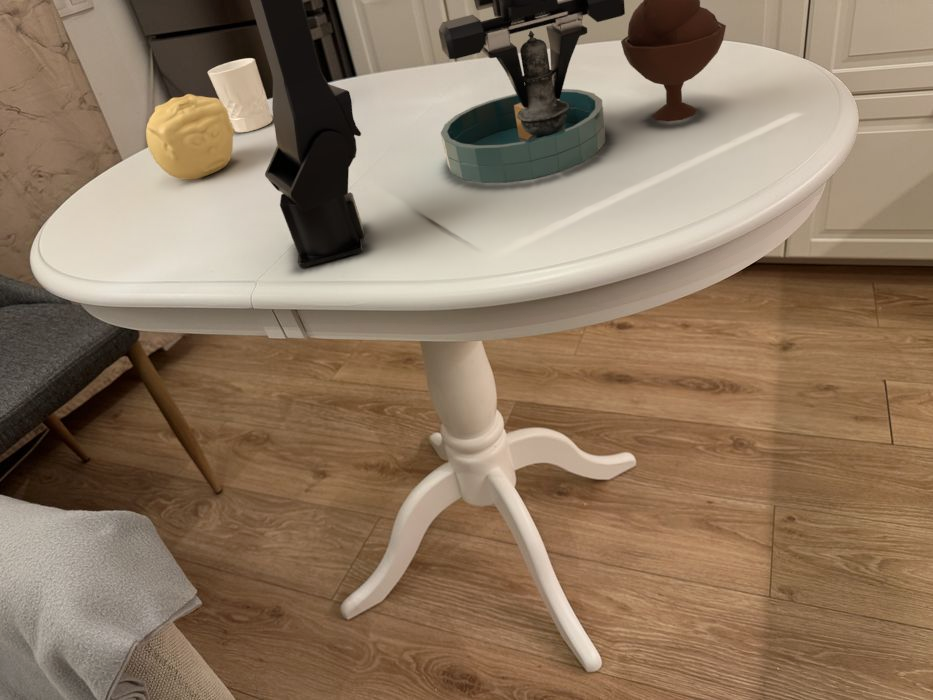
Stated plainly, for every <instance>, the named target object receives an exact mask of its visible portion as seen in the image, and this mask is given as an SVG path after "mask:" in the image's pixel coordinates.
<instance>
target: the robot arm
mask: <svg viewBox="0 0 933 700" xmlns="http://www.w3.org/2000/svg"><path fill="white" fill-rule="evenodd" d="M473 1H474V6H475V9H476V10H477V11H482V10H485V9H489V8H492V10H493V15H494V18H490V19H486V20H482V21H481V20H480V19H479V18H478V17H477V16H475V15H474V14H470V15H466V16H462V17H458V18H454V19H450V20H446V21H442V22H441V24H440V26H439V28H438V35H439V40H440V41H439V42H440V44H441V50H442V51H443V53H444V54H445V55H446V57H447V58H448V59H449V60H457V59H461V58H465V57H469V56H472V55H476V54H480V53H481V52H482V53H483V54H484V55H485V56H487V58H489V59H496V60H497V61H498V62H499V64H500V66H501V67H502V69H503V71H504V72H505V73H506V76H507V78H508V80H509V81H510V84H511V85H512V88H513V91H514V92H515V94H517V96H518V98H519V100H520V102H521V104H522V106H523V107H524V108H526V107H528V103H527V93H526V88H525V82H524V79H523V76H524V73H523V69H522V66H521V61H520V56H519V52H518V47H517V46H516V45H514V44H513V43H512V42H511V35H513V34H517V33H521V32H524V31H528V30H532V29H535V28H540V27H544V26H546V27H545V28H546V33H547V38H548V42H549V54H550V55H549V56H550V70H552V71H554V74H553V75H552V83H553V90H554V93H555V96H556V99H559V98H560V96H561V92H562V89H564V88H563V87H564V84H565V80H566V77H567V73H568V69H569V66H570V62H571V60H572V57H573V55H574V51H575V49H576V46H577V44H578V41H579V39H580V37H581V36H584V35H587V34H588V27H586V26H584V25H583V20H584V16H588V17H590V18H591V19H592V20H593V21H595V22H596V23H599V22H604V21H608V20H612V19H616V18H619V17H623V16H624V15H625V14H626V10H625V9H626V8H625V0H560V1H558V0H473ZM249 2H250V5H251V8H252V13H253V16H254V19H255V22H256V26H257V28H258V32H259V35H260V39H261V42H262V46H263V49H264V52H265V56H266V59H267V62H268V65H269V69H270V72H271V77H272V107H271V108H272V109H271V110H272V119H273V124H274V125H273V126H274V131H275V138H276V145H277V146H276V148H275V150H274V152H273V154H272V157H271V159H270V162H269V164H268V165H267V168H266V170H265V172H264V176H265V178H266V179H267V180H268V181H269V183H271V185H272V186H273V187H274V188H275V190H277V191H278V192H281V195H280V201H279V207H280V210H281V212H282V216H283V218H284V220H285V223H286V225H287V228H288V231H289V233H290V235H291V239H292V241H293V243H294V246H295V249H296V252H297V254H298V255H297V264H298V267H299V268H306V267H310V266H313V265H314V266H315V265H318V264H321V263H326V262H329V261H333V260H336V259H340V258H344V257H348V256H351V255H355V254H359V253H361V252H362V251H363V244H362V243H363V242H362V240H363V239H364V238H365V231H364V226H363V222H362V219H361V216H360V212H359V210H358V206H357V203H356V200H355V197H354V194H353V192H350V191H349V173H350V172H349V171H350V167H351V164H352V163H353V160H354V159H355V158H356V157H357V140H356V136H357V137H361V136H362V132H361V131H360V129H359V128H358V126H357V124H356V121H355V118H354V113H353V102H352V98H351V93H350V91H349V90H347V89H344V88H341V87H339V86H335V85H332V84H330V83H329V82H328V81H327V79H326V77H325V76H324V74H323V71H322V68H321V65H320V62H319V61H320V60H319V57H318V54H317V50H316V45H315V42H314V39H313V34H312V31H311V28H310V27H311V26H310V23H309V20H308V19H309V18H308V15H307V12H306V7H305V3H304V1H303V0H249Z"/></svg>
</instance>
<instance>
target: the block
mask: <svg viewBox="0 0 933 700" xmlns="http://www.w3.org/2000/svg"><path fill="white" fill-rule="evenodd" d="M557 100H558V101H560V99H557ZM514 109H515V116H516V122H517V128H518V135H519V138H522V139H525V140H528V139H529V138H530V137H531V136H532V135H531V134H529V133H528V132H526V131H525V130H524V128H523V126H522V125H521V120H519V119H518V118H517V114H518V112H519V111H520V110H522V109H524V107H523V106H522V104H521V103H519V104H516V105H514ZM560 130H564V128H563V127H562V128H561V129H560Z"/></svg>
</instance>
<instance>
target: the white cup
mask: <svg viewBox="0 0 933 700" xmlns="http://www.w3.org/2000/svg"><path fill="white" fill-rule="evenodd" d="M207 75H208V77H209V79H210V81H211V83H212V86H213V89H215V90H214V91H215V93H216V95H217V97H218V99H219V100H220V101H221V102H222V104H223V105H224V107H225V108H226V109H227V112H228V115H229V119H230V122H231V124H232V126H233V129H234V133H248V132H252V131H255V130H258V129H262V128H265V127H266V126H268V125H270V124H271V123H272V122H273V121H274V118H273V115H272V113H271V110H270V106H269V101H268V98H267V94H266V91H265V87H264V84H263V81H262V78H261V75H260V71H259V68H258V65H257V62H256V59H255V58H252V57H248V58H247V57H246V58H241V59H236V60H233V61H228V62H225V63H222V64H219V65H217V66H215V67H212V68H211V69H209V70H208V71H207Z"/></svg>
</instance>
